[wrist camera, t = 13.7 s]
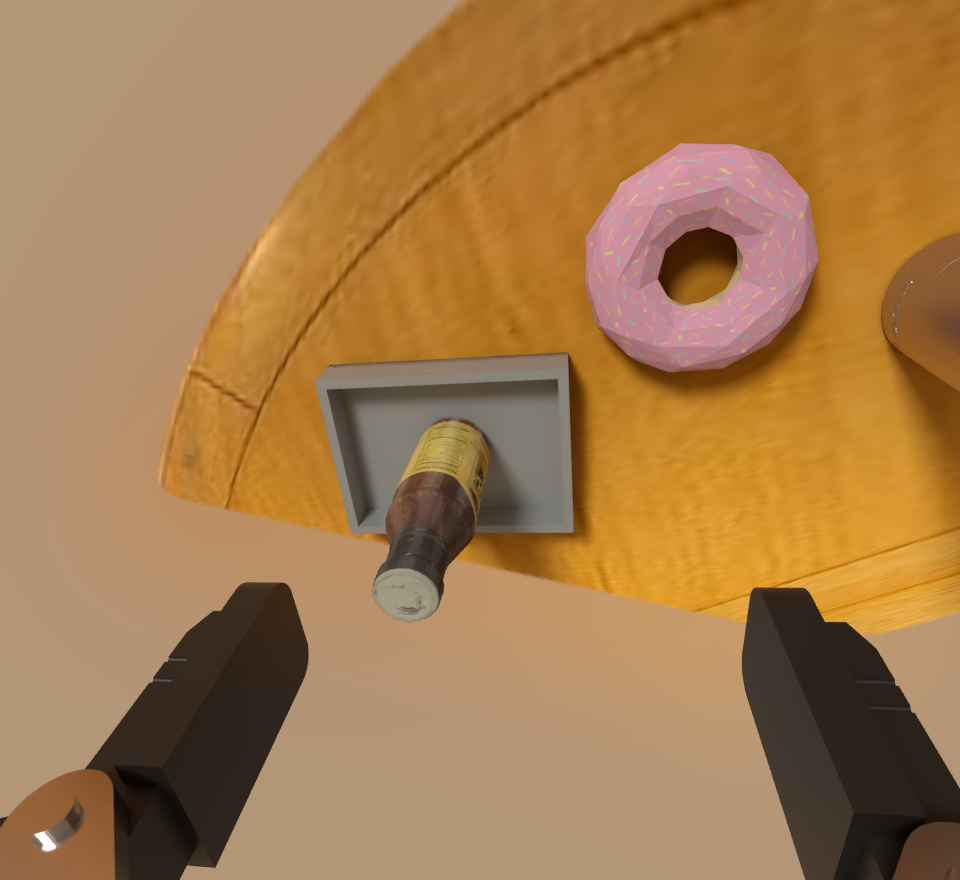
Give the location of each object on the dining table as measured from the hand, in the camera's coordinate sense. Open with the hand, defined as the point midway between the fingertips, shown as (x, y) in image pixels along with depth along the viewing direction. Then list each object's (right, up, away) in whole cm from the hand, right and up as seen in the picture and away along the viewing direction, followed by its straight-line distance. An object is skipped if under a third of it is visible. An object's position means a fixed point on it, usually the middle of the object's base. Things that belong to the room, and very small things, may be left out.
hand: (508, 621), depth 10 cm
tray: (-3, +3, +42) cm, 42 cm away
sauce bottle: (-2, +3, +42) cm, 42 cm away
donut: (+15, +16, +33) cm, 40 cm away
